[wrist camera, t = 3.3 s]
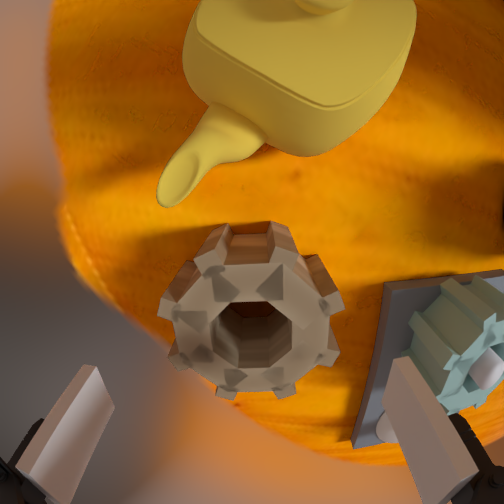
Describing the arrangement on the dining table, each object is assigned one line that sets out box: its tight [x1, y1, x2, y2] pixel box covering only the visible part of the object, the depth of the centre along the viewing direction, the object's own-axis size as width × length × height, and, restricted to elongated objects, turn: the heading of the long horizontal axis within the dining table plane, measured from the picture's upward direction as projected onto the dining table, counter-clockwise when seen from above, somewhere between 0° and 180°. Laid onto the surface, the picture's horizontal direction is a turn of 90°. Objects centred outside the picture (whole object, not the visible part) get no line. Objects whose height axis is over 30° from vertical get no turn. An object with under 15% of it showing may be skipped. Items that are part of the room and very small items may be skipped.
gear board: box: [351, 269, 504, 449], centre depth 19 cm, size 21×14×8 cm, turn 3°
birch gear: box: [157, 221, 345, 400], centre depth 18 cm, size 10×10×6 cm
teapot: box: [156, 0, 417, 208], centre depth 11 cm, size 18×11×11 cm, turn 146°
